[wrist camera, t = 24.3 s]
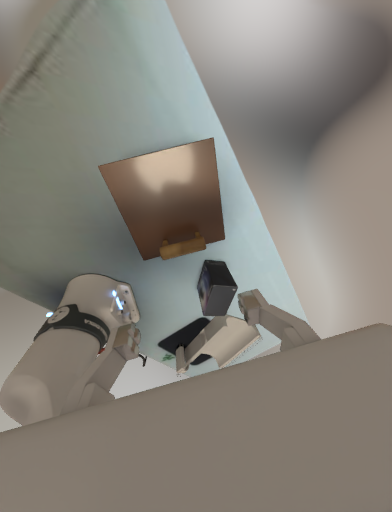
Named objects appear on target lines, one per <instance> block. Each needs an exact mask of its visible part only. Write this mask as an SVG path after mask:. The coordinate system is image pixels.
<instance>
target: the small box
mask: <svg viewBox="0 0 392 512" xmlns="http://www.w3.org/2000/svg"><path fill="white" fill-rule="evenodd" d="M197 289H198V293H199V298H200V302H201V307H202V312H203V316H225V315H226V313H227V310H228V308H229V306H230V304H231V302H232V300H233V297H234V295H235V293H236V291H237V289H238V286H237V285H236V283H235V281H234V279H233V277H232V275H231V274H230V272H229V270H228V268H227V266H226V264H225V262H217V261H207V260H205V262H204V266H203V269H202V273H201V276H200V280H199V283H198V287H197Z"/></svg>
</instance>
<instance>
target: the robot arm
mask: <svg viewBox="0 0 392 512" xmlns="http://www.w3.org/2000/svg"><path fill="white" fill-rule="evenodd" d="M238 299H239V301H238V305H239V308H240V311H241V313H242V314H244V319H245V321H246V322H247V324H248V326H251V325H255V324H259V323H260V325H262V326H263V327H264V328H266V329H267V330H268V331H270V332H271V333H273V334H274V335H275V336H277V337H278V338H279V339H281V340H282V342H281V347H280V350H281V352H277V353H274V354H270V355H267V356H263V357H260V358H256V359H253V360H249V361H246V362H243V363H239V364H236V365H232V366H229V367H225V368H222V369H218V370H215V371H211V372H208V373H205V374H201V375H198V376H194V377H191V378H187V379H184V380H180V381H177V382H173V383H170V384H167V385H163V386H160V387H156V388H153V389H150V390H146V391H142V392H139V393H136V394H132V395H129V396H125V397H122V398H119V399H115V397H114V395H112V394H111V393H109V391H110V389H111V387H112V385H113V384H114V382H115V380H116V379H117V377H118V375H119V374H120V372H121V370H122V368H123V367H124V365H125V363H126V361H128V360H131V359H134V358H137V357H138V356H139V357H141V358H142V359H143V367H144V366H145V364H146V360H147V356H146V357H145V358H144V357H143V356H142V355H140V354H139V346H138V344H139V343H140V341H141V333H140V331H139V329H137V328H135V327H136V325H135V324H134V323H136V322H137V321H138V320H139V319H140V314H139V311H138V308H137V305H136V302H135V299H134V295H133V292H132V289H131V286H130V285H129V284H127V283H122V282H117V281H115V280H113V279H111V278H108V277H105V276H102V275H95V274H87V275H81V276H78V277H76V278H74V279H72V280H71V281H70V282H69V283H68V285H67V288H66V291H65V294H64V296H63V298H62V300H61V302H60V304H59V306H58V308H57V310H56V311H55V312H54V313H48V314H47V315H46V317H49V318H48V319H47V321H46V322H45V323H44V325H43V326H42V328H41V329H40V330H39V331H38V333H37V334H36V336H35V337H34V343H33V344H32V345H31V346H30V348H29V349H28V350H27V352H26V353H25V354H24V356H23V357H22V359H21V360H20V361H19V362H18V364H17V365H16V367H15V368H14V369H13V371H12V372H11V373H10V375H9V376H8V377H7V379H6V380H5V381H4V383H3V386H2V388H1V391H0V406H1V407H2V409H3V410H4V412H5V413H6V414H7V415H8V416H10V417H11V418H12V419H14V420H15V421H16V422H18V423H20V424H21V425H22V426H21V427H18V428H15V429H11V430H7V431H4V432H0V512H392V326H391V325H387V324H381V323H379V324H374V325H370V326H367V327H364V328H360V329H357V330H354V331H350V332H346V333H343V334H339V335H336V336H333V337H329V338H326V339H322V340H321V339H320V337H319V336H318V335H317V334H316V333H315V332H314V331H313V329H311V327H310V326H309V325H308V324H307V323H306V322H305V321H303V320H301V319H299V318H297V317H295V316H293V315H291V314H289V313H287V312H285V311H283V310H281V309H279V308H277V307H275V306H273V305H269V304H268V303H267V301H266V300H265V298H264V297H263V296H262V294H261V293H260V292H259V290H258V289H254V290H250V291H246V292H243V293H240V294H238ZM106 343H107V344H106ZM105 344H106V347H105V348H103V346H104V345H105ZM98 354H100V355H99V356H98V357H97V355H98ZM96 357H97V358H96ZM114 399H115V400H114Z"/></svg>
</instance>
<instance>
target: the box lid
mask: <svg viewBox="0 0 392 512" xmlns="http://www.w3.org/2000/svg"><path fill="white" fill-rule="evenodd" d="M98 168H99V170H100V172H101V174H102V176H103V178H104V180H105V182H106V184H107V186H108V188H109V190H110V192H111V194H112V196H113V198H114V200H115V202H116V204H117V207H118V209H119V211H120V213H121V215H122V217H123V219H124V221H125V223H126V225H127V227H128V229H129V231H130V233H131V235H132V237H133V239H134V241H135V243H136V245H137V248H138V250H139V252H140V254H141V256H142V258H143V260H148V259H152V258H156V257H159V256H161V257H162V259H163V260H167V259H170V258H174V257H178V256H182V255H186V254H189V253H193V252H197V251H201V250H205V249H206V244H209V243H213V242H217V241H221V240H224V239H225V233H224V224H223V215H222V207H221V198H220V189H219V180H218V171H217V163H216V154H215V145H214V138H209V139H205V140H201V141H197V142H193V143H189V144H185V145H181V146H177V147H173V148H169V149H165V150H161V151H157V152H152V153H148V154H144V155H140V156H136V157H132V158H128V159H124V160H120V161H116V162H112V163H108V164H104V165H100V166H98Z"/></svg>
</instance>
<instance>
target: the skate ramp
mask: <svg viewBox="0 0 392 512" xmlns="http://www.w3.org/2000/svg"><path fill="white" fill-rule="evenodd" d="M259 337H261V335H260V333H259V331H258V329H257V327H256V325H251V326H248V324H247V322H246V321H245V320H242V319H239V318H236V317H233V316H230V315H227V314H226V315H225V316H215V317H214V318H213V319H212V321H211V322H210V323H209V324H208V325H207V326H206V327H205V328H204V329H203V330H202V331H201V332H200V333H199V334H198V335H197V337H196V338H195V339H194V340H193V341H192V342H191V343H190V344H189V345H188V346H187V347H186V348H185V358H186V364H185V360H184V347H181V346H180V347H179V348H178V349H177V350H176V368H177V373H185V372H186V371H187V370H188V368H189V364H190V362H192V361H193V360H194V359H195V358H196V357H197V356H198V355H200V354H201V353H204V354H209V355H211V356H213V357H214V358H215V359H216V361H217V363H218V366H219V369H220V368H223V367H224V366H225V365H227V364H228V363H229V362H230V361H231V363H232V360H233V359H234V358H235V357H236V356H238V355H239V354H240V353H241V352H242V351H244V350H245V349H246V348H247V347H249V346H250V345H251V344H253V342H256V340H257V339H258V338H259ZM262 340H263V339H262ZM258 341H259V339H258ZM259 342H260V341H259ZM256 344H258V343H256ZM253 345H254V344H253ZM252 348H253V347H252ZM248 349H249V348H248ZM248 349H247V350H248ZM244 352H245V351H244ZM247 352H248V351H247ZM242 354H243V353H242ZM242 356H243V355H242ZM239 357H240V356H239ZM236 358H238V357H236ZM234 361H235V360H234ZM236 361H237V360H236ZM231 365H232V364H231ZM226 367H227V366H226ZM224 368H225V367H224ZM184 369H185V370H184Z"/></svg>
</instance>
